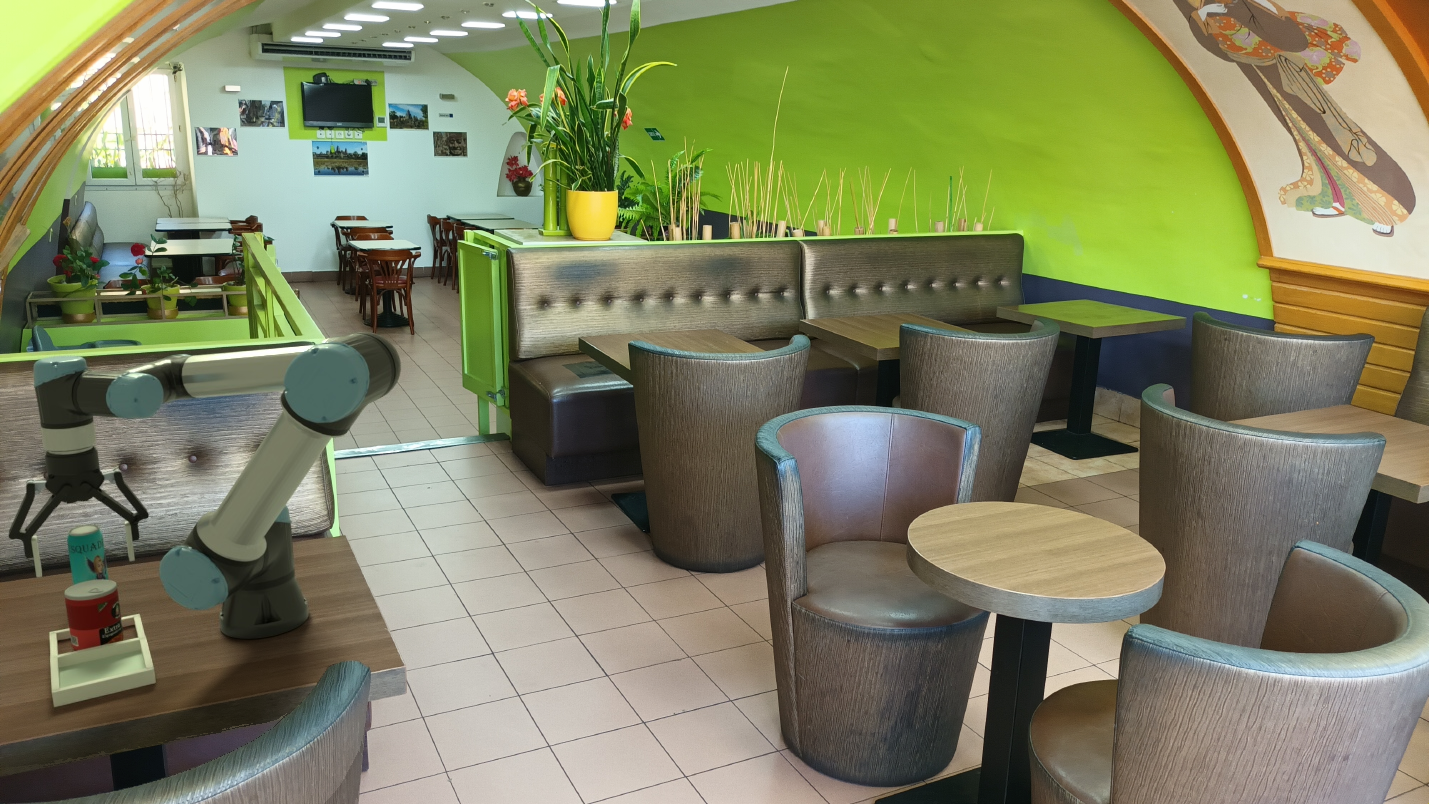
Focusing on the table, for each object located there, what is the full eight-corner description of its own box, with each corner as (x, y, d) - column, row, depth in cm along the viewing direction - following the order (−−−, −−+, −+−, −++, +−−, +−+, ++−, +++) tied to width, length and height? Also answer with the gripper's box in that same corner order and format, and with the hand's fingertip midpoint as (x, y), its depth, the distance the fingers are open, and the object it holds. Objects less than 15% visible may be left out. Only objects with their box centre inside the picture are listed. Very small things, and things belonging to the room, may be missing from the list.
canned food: (111, 655, 172) (103, 596, 169) (62, 656, 171) (54, 597, 169) (133, 635, 179) (125, 578, 177) (86, 636, 179) (78, 579, 176)
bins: (155, 682, 163) (154, 668, 162) (54, 707, 155) (51, 692, 155) (140, 621, 185) (138, 608, 184) (50, 639, 177) (48, 627, 176)
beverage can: (94, 609, 189) (84, 535, 186) (69, 606, 190) (58, 533, 187) (118, 597, 195) (108, 525, 191) (93, 594, 196) (82, 522, 192)
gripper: (152, 433, 177) (165, 545, 182) (-20, 453, 163) (-2, 573, 168) (157, 443, 171) (170, 558, 176) (-22, 464, 157) (-3, 589, 162)
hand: (86, 566), depth 172 cm, fingers open, 13 cm apart
